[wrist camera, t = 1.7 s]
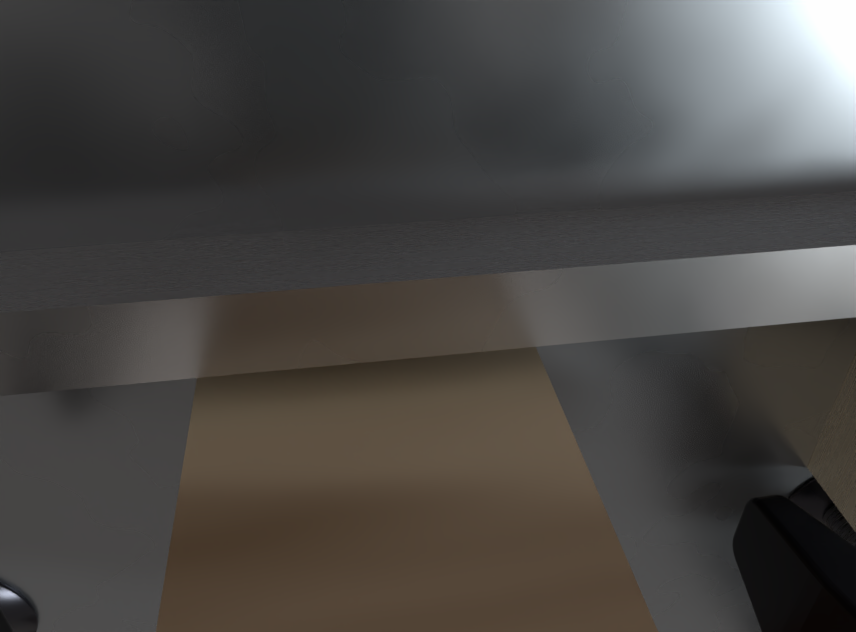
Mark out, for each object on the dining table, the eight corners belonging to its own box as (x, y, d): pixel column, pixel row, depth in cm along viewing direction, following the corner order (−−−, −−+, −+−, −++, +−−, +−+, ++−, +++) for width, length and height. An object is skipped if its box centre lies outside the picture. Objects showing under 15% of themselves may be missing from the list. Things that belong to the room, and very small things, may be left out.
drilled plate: (854, 588, 17) (989, 782, 13) (-113, 722, 14) (-233, 998, 11) (1269, -158, 8) (1876, -119, 5) (-847, -134, 6) (-2155, -38, 3)
